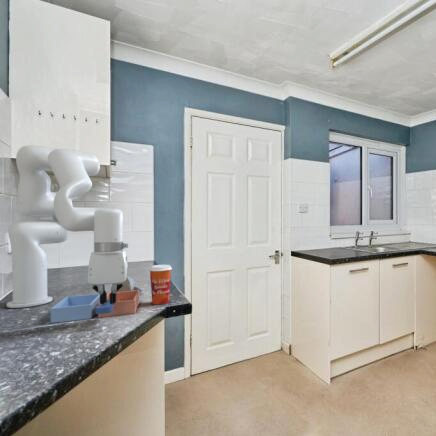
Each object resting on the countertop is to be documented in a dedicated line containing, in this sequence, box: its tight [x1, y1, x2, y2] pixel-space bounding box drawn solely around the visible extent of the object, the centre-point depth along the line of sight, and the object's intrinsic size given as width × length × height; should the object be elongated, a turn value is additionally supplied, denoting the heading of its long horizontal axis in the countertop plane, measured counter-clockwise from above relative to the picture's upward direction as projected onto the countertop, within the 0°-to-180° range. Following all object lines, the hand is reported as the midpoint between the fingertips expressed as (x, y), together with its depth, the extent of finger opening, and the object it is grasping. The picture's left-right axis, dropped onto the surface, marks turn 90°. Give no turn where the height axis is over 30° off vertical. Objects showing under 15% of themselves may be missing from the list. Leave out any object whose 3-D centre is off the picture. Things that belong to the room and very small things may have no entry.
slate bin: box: [50, 293, 100, 324], centre depth 105 cm, size 16×10×4 cm, turn 26°
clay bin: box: [97, 290, 141, 319], centre depth 111 cm, size 16×10×4 cm, turn 26°
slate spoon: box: [95, 299, 113, 315], centre depth 97 cm, size 11×4×2 cm, turn 26°
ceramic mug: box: [110, 275, 143, 296], centre depth 129 cm, size 11×8×8 cm
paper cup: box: [148, 264, 173, 306], centre depth 119 cm, size 8×8×14 cm
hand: (108, 305), depth 99 cm, fingers closed on slate spoon, 1 cm apart
